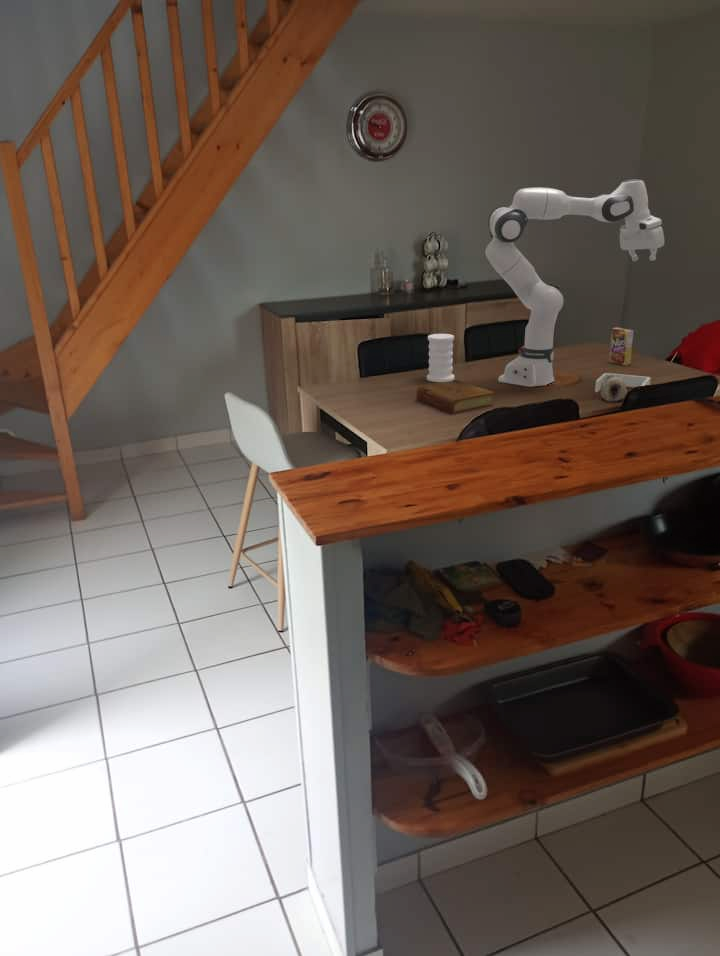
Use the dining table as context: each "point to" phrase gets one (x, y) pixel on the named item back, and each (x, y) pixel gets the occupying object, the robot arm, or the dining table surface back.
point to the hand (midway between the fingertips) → (644, 260)
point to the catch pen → (625, 380)
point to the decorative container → (440, 358)
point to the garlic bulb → (613, 388)
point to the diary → (455, 396)
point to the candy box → (621, 346)
